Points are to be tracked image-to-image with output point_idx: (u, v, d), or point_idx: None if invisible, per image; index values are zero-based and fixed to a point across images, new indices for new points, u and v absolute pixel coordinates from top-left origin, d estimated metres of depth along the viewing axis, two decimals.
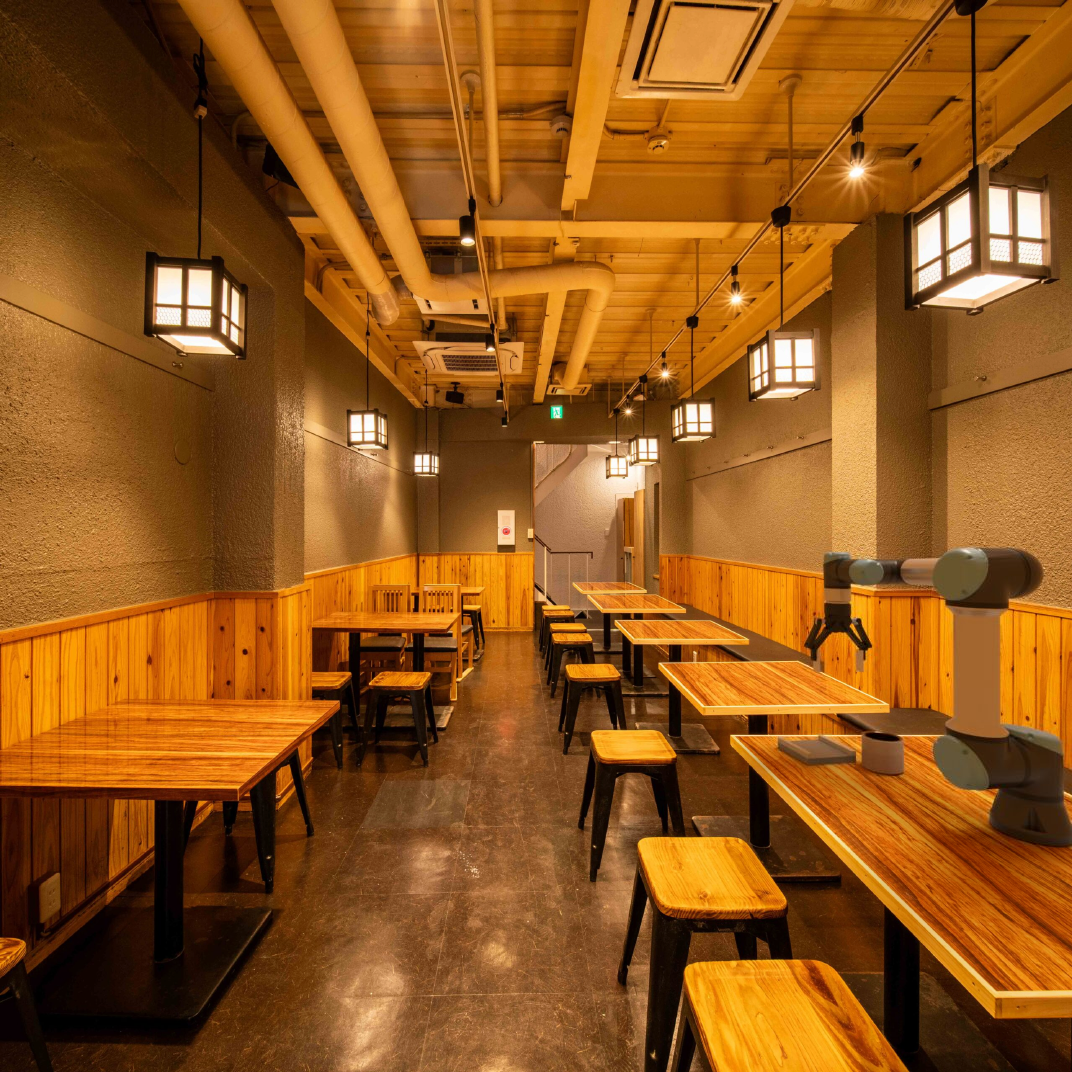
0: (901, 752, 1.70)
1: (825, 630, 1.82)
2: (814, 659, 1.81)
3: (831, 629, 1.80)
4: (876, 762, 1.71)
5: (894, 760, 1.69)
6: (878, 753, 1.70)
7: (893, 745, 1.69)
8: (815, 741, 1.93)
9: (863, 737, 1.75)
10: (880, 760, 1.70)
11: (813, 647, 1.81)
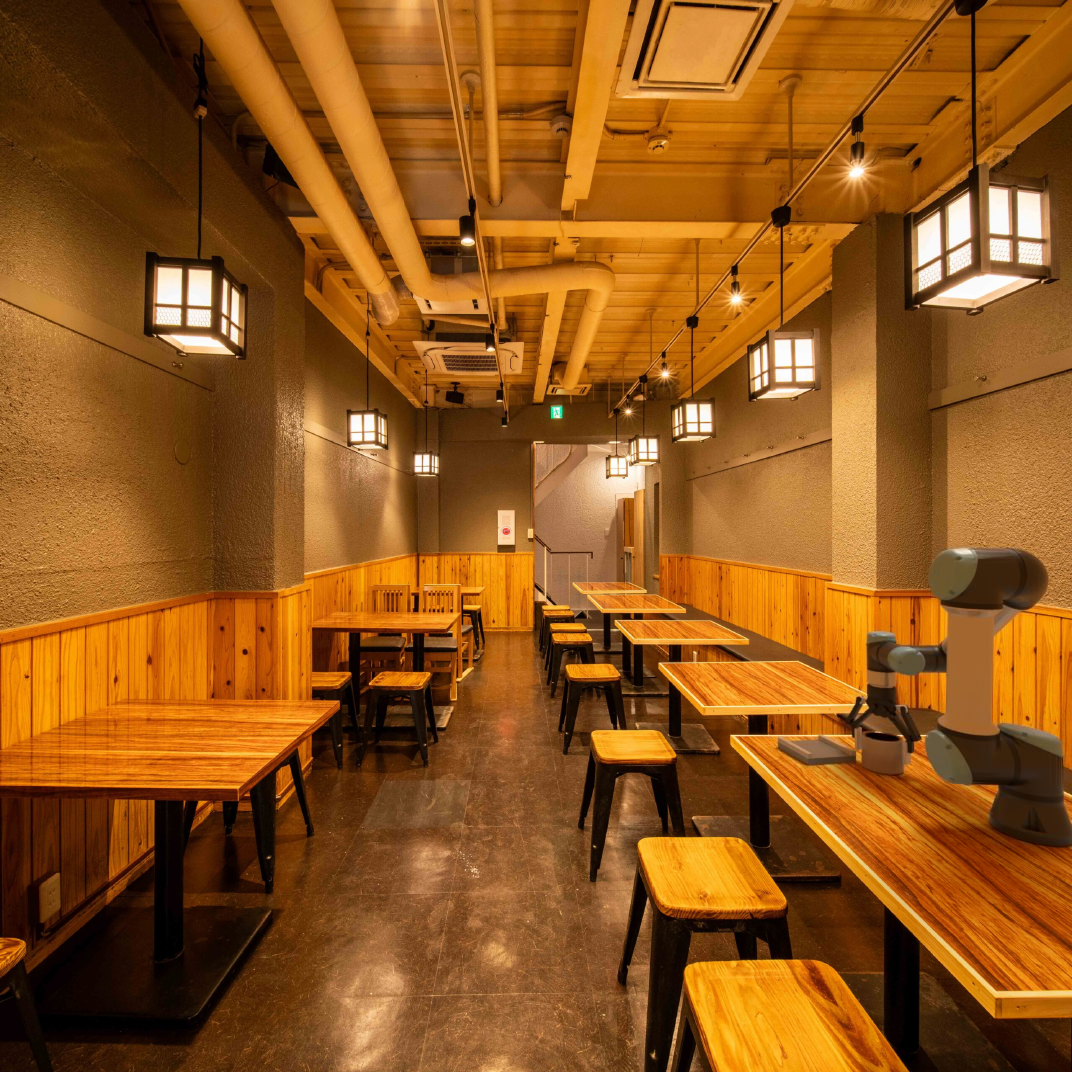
0: (901, 752, 1.70)
1: None
2: (853, 735, 1.81)
3: (868, 710, 1.76)
4: (876, 762, 1.71)
5: (894, 760, 1.69)
6: (878, 753, 1.70)
7: (893, 745, 1.69)
8: (815, 741, 1.93)
9: (863, 737, 1.75)
10: (880, 760, 1.70)
11: (851, 724, 1.81)
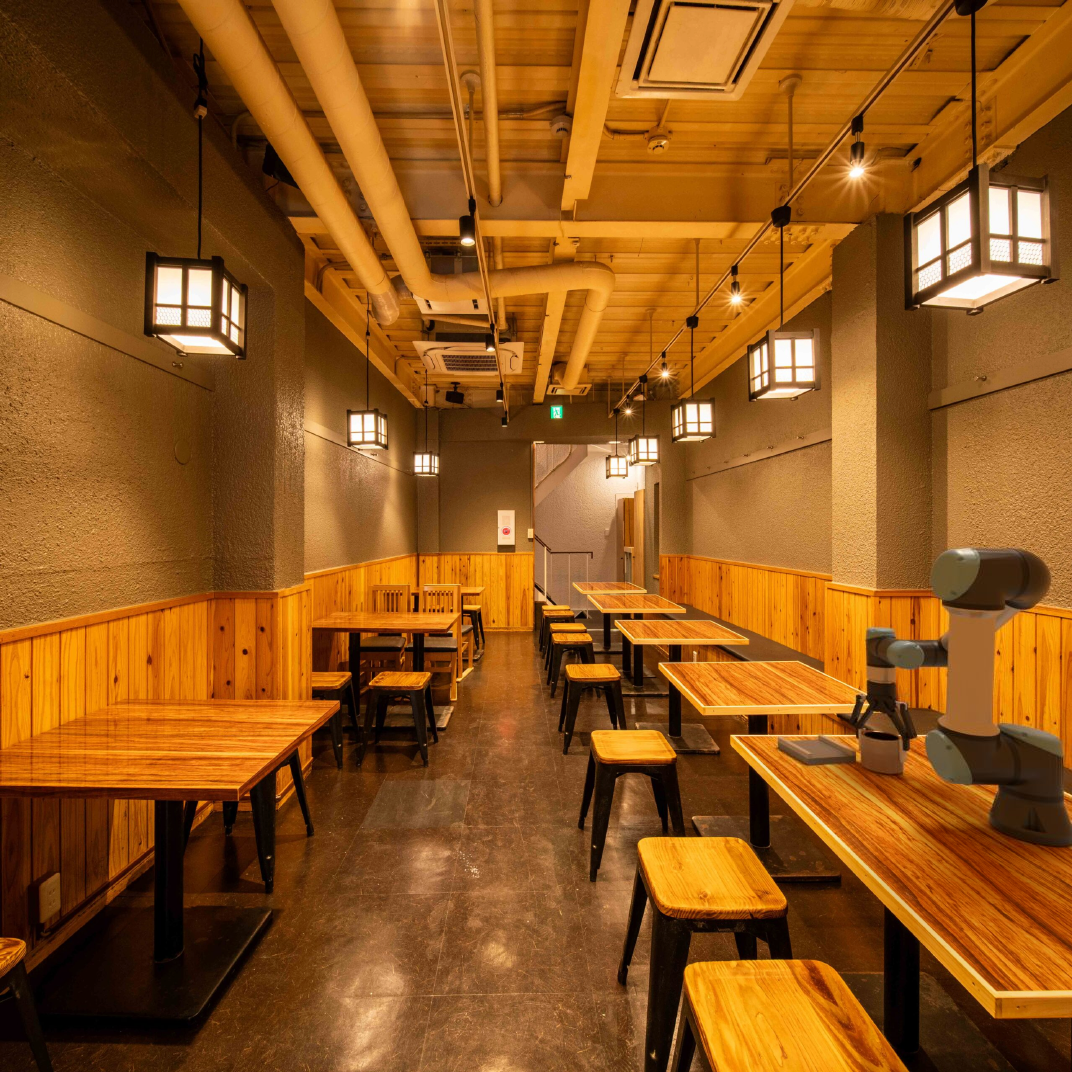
0: None
1: None
2: (857, 736, 1.80)
3: (869, 707, 1.76)
4: (875, 761, 1.70)
5: (893, 759, 1.69)
6: (877, 752, 1.70)
7: (892, 745, 1.69)
8: (815, 741, 1.93)
9: (862, 736, 1.75)
10: (879, 759, 1.70)
11: (855, 724, 1.80)
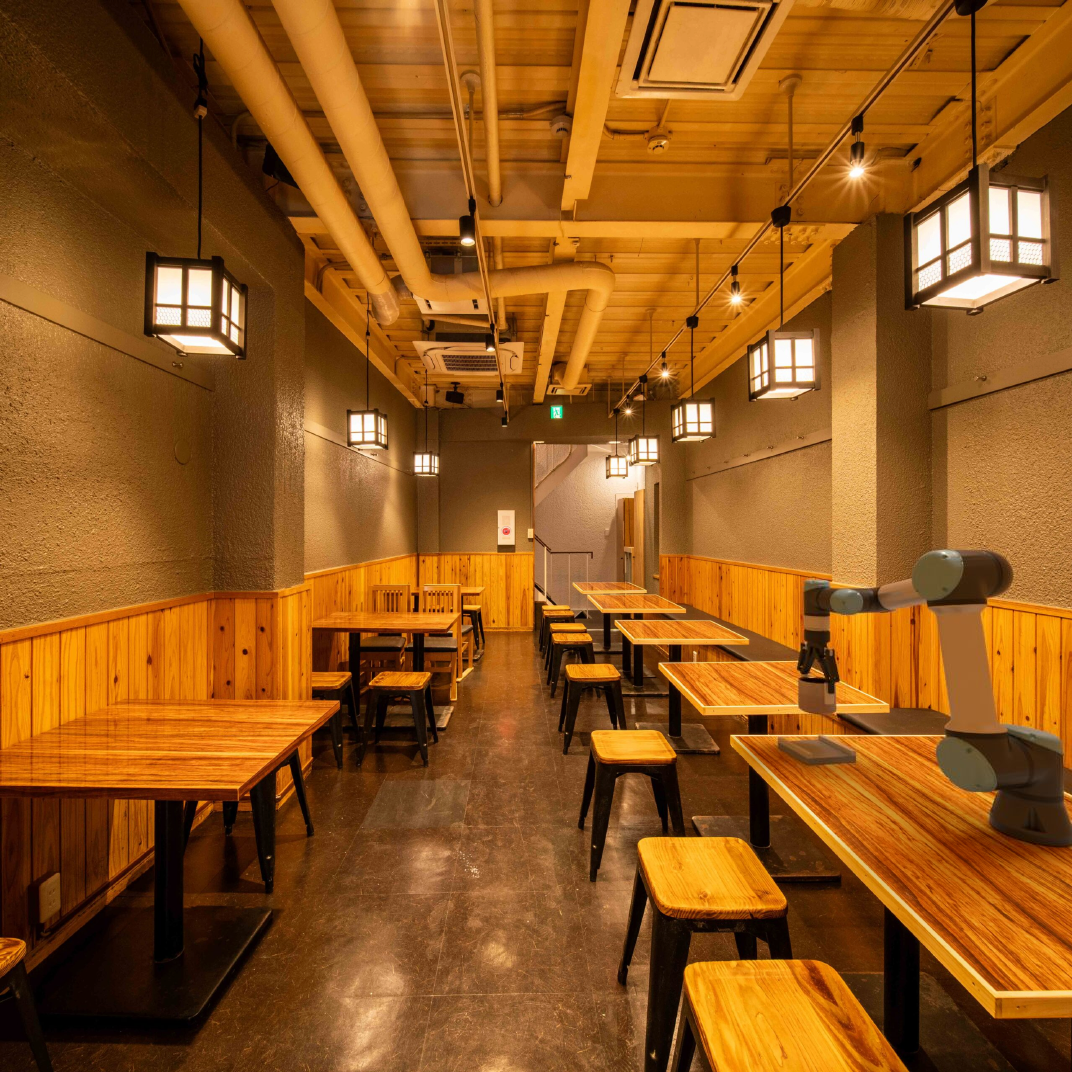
0: None
1: None
2: None
3: (806, 654, 1.89)
4: (803, 701, 1.85)
5: (818, 700, 1.81)
6: (804, 693, 1.84)
7: (817, 687, 1.81)
8: (815, 741, 1.93)
9: (798, 679, 1.89)
10: (805, 699, 1.84)
11: None
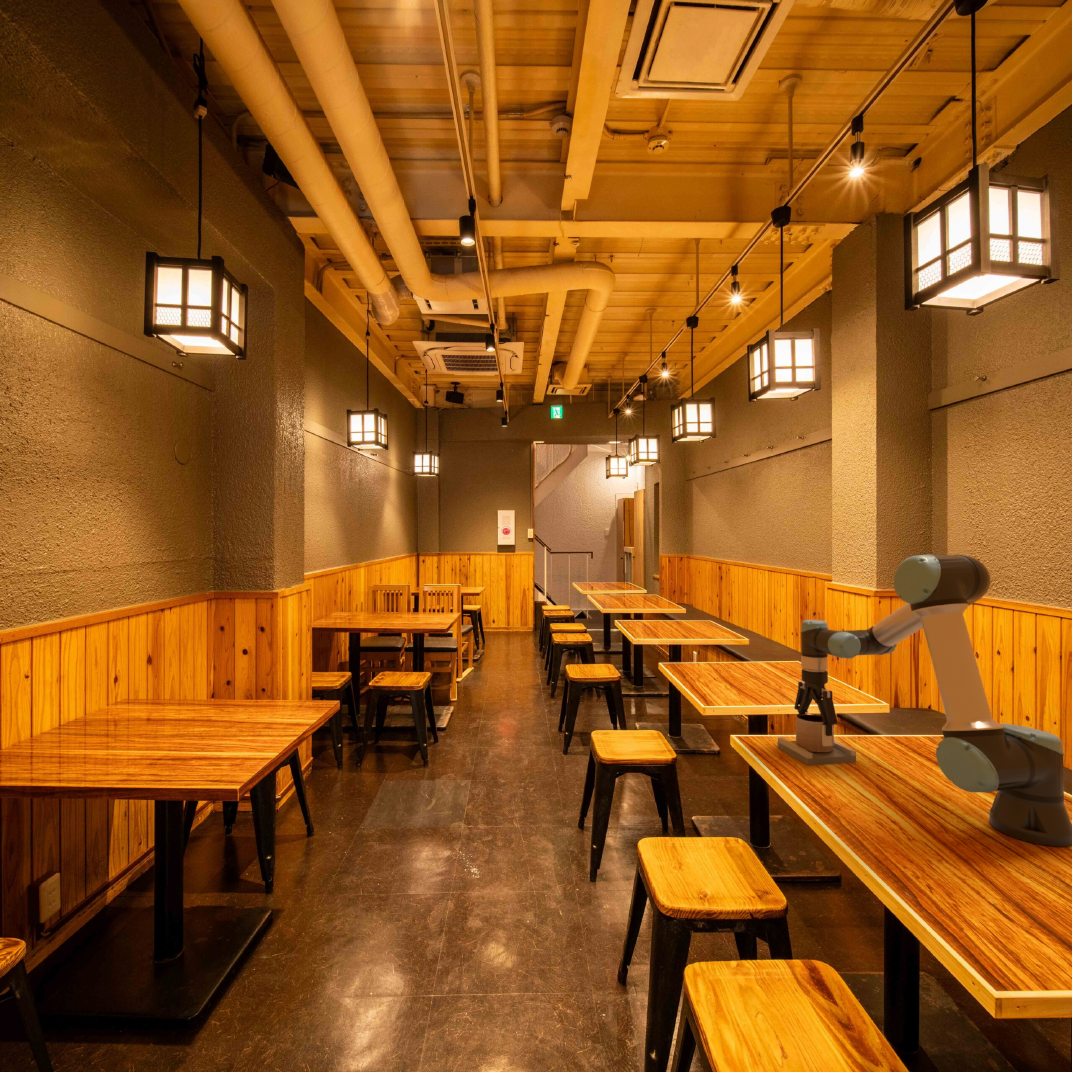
0: None
1: None
2: None
3: (804, 694, 1.89)
4: (800, 739, 1.85)
5: (815, 739, 1.81)
6: (802, 731, 1.84)
7: (815, 725, 1.82)
8: None
9: (796, 716, 1.89)
10: (803, 738, 1.84)
11: None
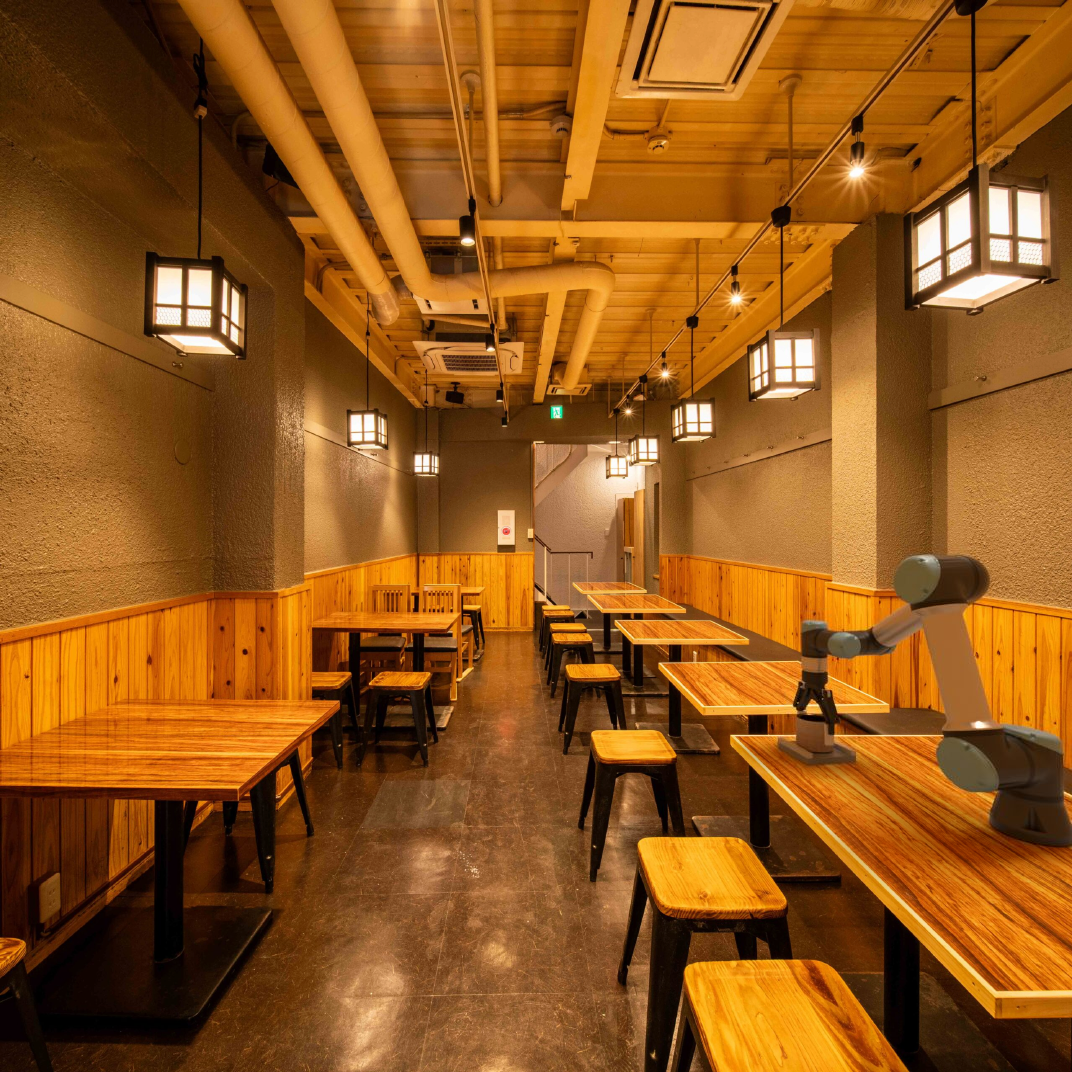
0: (824, 733, 1.81)
1: None
2: None
3: (804, 693, 1.89)
4: (800, 739, 1.85)
5: (815, 739, 1.81)
6: (802, 731, 1.84)
7: (815, 725, 1.82)
8: None
9: (796, 716, 1.89)
10: (803, 738, 1.84)
11: (796, 707, 1.94)
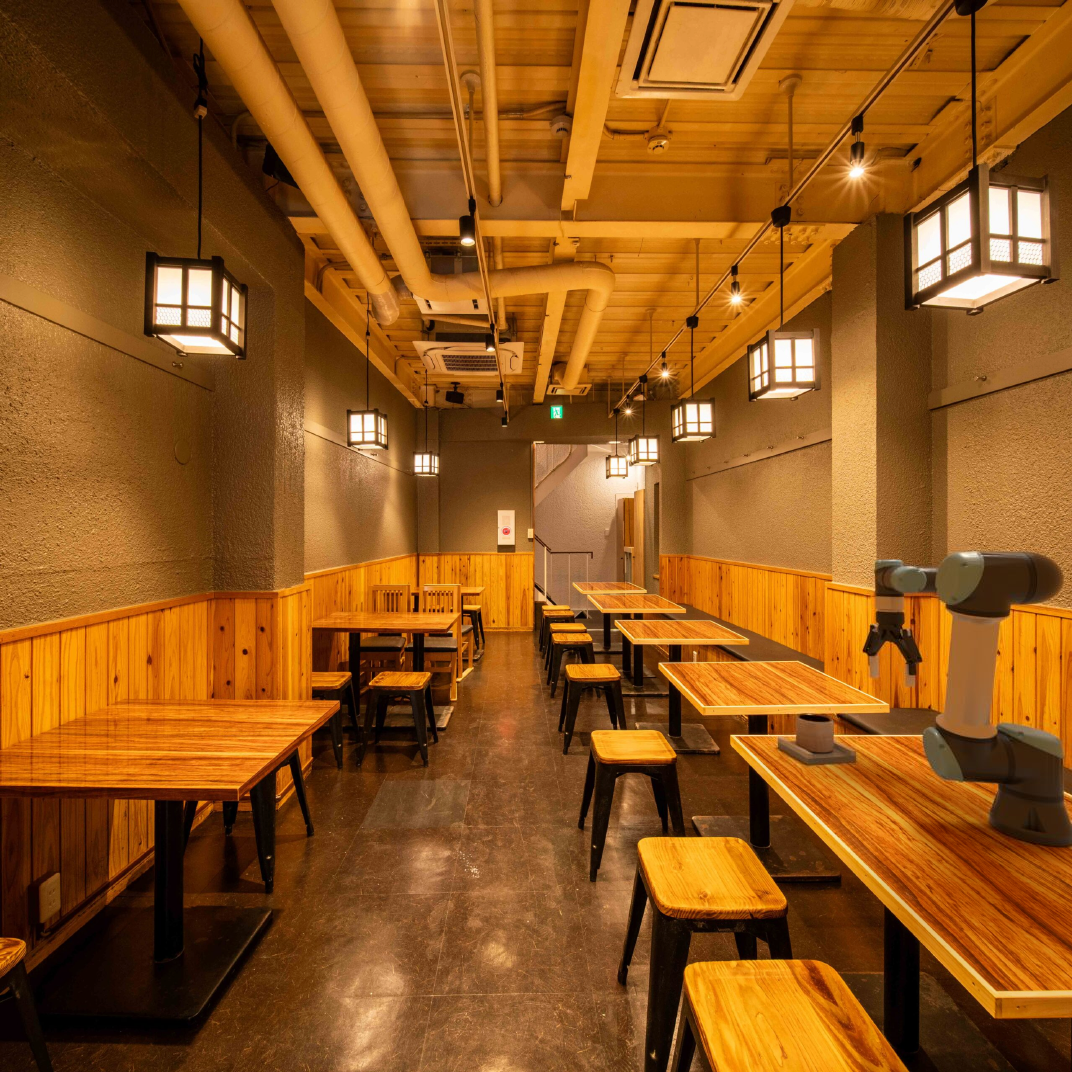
0: (824, 733, 1.81)
1: None
2: (869, 663, 1.86)
3: (878, 636, 1.81)
4: (800, 739, 1.85)
5: (815, 739, 1.81)
6: (802, 731, 1.84)
7: (815, 725, 1.82)
8: None
9: (796, 716, 1.89)
10: (803, 738, 1.84)
11: (867, 652, 1.86)
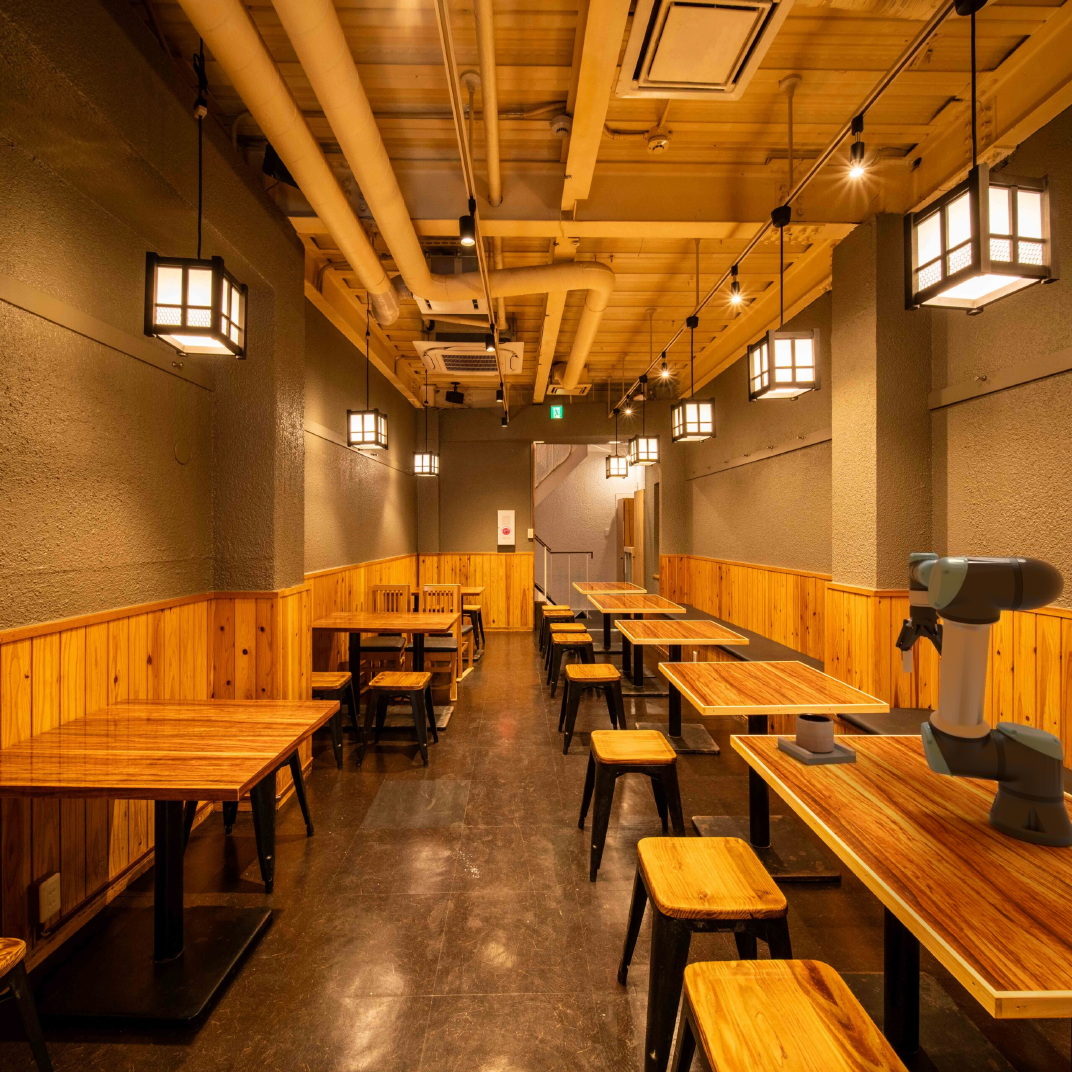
0: (824, 733, 1.81)
1: None
2: (902, 658, 1.83)
3: (911, 631, 1.78)
4: (800, 739, 1.85)
5: (815, 739, 1.81)
6: (802, 731, 1.84)
7: (815, 725, 1.82)
8: None
9: (796, 716, 1.89)
10: (803, 738, 1.84)
11: (901, 647, 1.83)
